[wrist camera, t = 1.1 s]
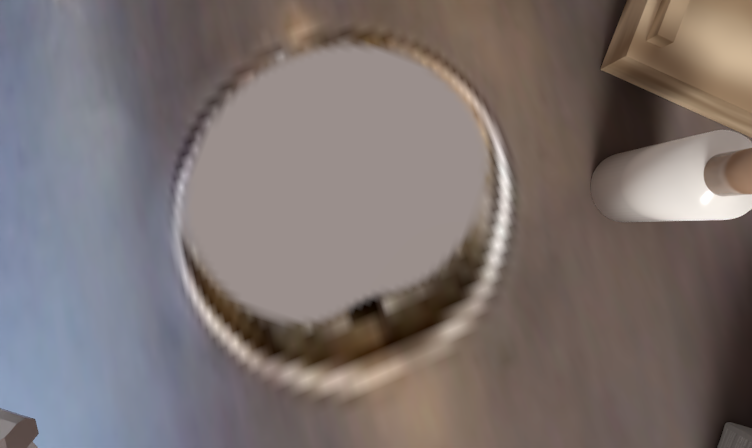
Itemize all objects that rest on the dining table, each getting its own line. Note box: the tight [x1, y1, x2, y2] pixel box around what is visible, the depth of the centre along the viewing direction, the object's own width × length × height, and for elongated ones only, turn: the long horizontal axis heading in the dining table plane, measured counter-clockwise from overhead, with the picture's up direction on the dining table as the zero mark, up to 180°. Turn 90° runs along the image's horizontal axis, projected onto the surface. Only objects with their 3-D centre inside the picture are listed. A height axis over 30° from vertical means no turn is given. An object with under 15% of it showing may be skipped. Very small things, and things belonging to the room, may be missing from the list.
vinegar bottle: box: [590, 130, 752, 222], centre depth 43 cm, size 5×5×16 cm
